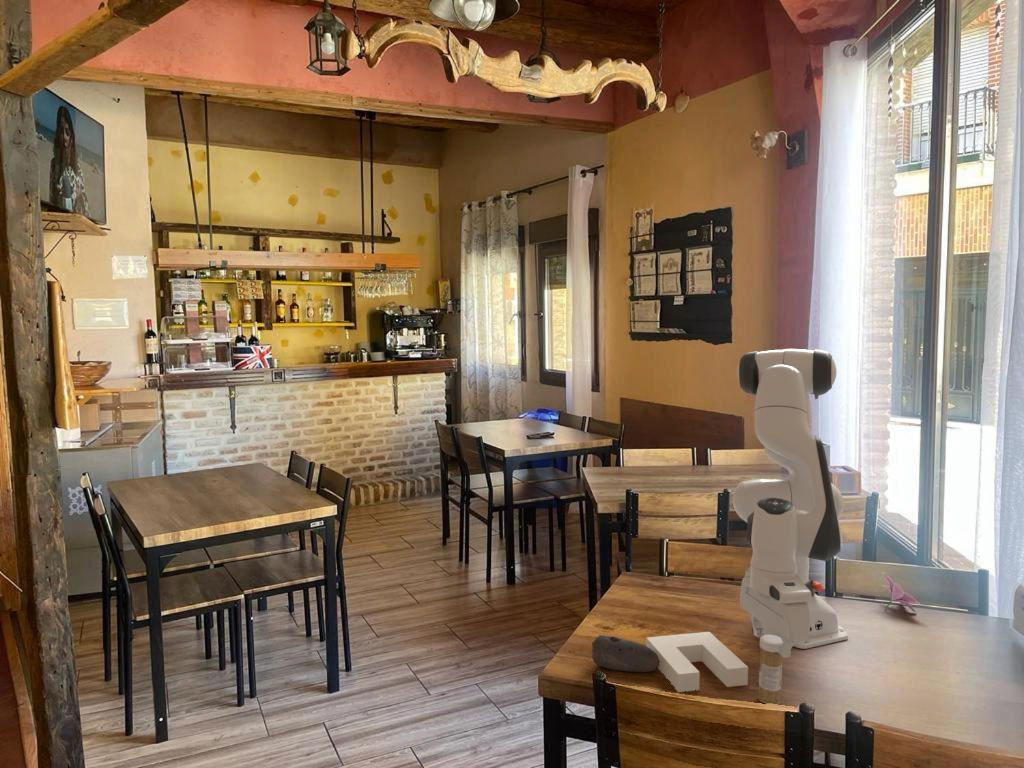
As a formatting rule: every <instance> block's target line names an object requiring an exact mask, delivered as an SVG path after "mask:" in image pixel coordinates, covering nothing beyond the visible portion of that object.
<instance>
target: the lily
mask: <svg viewBox="0 0 1024 768" xmlns="http://www.w3.org/2000/svg"><path fill="white" fill-rule="evenodd" d="M881 574H882V575H883V576H884V578H885V579H886V581H887V583H888V585H887V584H883V585H882V587H884V589H886V590H888V591H889V592H890V593H891V599H890V601H889V602H888V603H887V605H886V607H885V609H884V611H887V610H888V607H889V606H890V604H891V603H892V602H893V601H896V602H899V604H900V605H901V606H904V605H905V606H907V607H908V608H909V609H910V610H911V611H912V612H913V611H914V612H916V610H915V608H914V607H913V606H912V604H915V605H921V603H920V601H918V600H917V599H916V598H915V597H914V596H913V595H911V594H910V593H908V592H906V591H905V590H904V589H903V588H902V586H901V585H900V584H899V583H895V581H894V580H893V579H892V578H891V577H890V576H888V575H887V574H886V573H885V572H883V571H881ZM914 612H913V613H914Z"/></svg>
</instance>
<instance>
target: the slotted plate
mask: <svg viewBox="0 0 1024 768" xmlns="http://www.w3.org/2000/svg"><path fill="white" fill-rule="evenodd" d="M645 639H646V640H645V646H647V647H648V648H650V649H652V650H653V651H654V652H655V653H656V654H657V655H658V658H659V661H660V663H659V666H658V668H657V669H658V671H659V672H661V674H662V673H663V674H664V675H665V676H666V677H665V676H664V675H663V674H662V675H663V676H664V677H665V678H666V680H667V679H668V680H669V681H670V682H671V683H670V682H669V681H668V680H667V681H668V682H669V683H670V685H671V686H672V685H673V686H674V687H675V688H674V687H673V686H672V687H673V688H674V689H675V691H677V693H684V692H685V691H686V692H696V691H700V671H699V670H698V669H697V668H696V667H695V665H693V663H696V662H702V663H703V664H704V665H705V666H706V667H707V668H708V669H709V670H710V671H711V672H712V673H713V674H714V675H715V677H716V678H718V679H719V680H720V681H721V682H722V683H723V684H724V685H725V686H726V687H727V688H732V687H733V688H734V687H740V686H749V685H748V684H749V682H748V681H749V679H748V678H749V666H748V665H746V664H745V663H744V662H743V661H742V660H741V659H740V658H739V657H738V656H737V655H736V654H734V653H733V651H731V650H730V649H729V648H728V647H727V646H726V645H724V643H722V642H721V641H720V640H719V639H718V638H717V637H716V636H715V635H714V634H712V632H710V631H702V632H692V633H691V632H690V633H680V634H669V635H658V636H657V635H656V636H648V637H646V638H645ZM695 690H696V691H695Z"/></svg>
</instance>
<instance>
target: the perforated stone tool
mask: <svg viewBox="0 0 1024 768" xmlns="http://www.w3.org/2000/svg"><path fill="white" fill-rule="evenodd" d="M591 644H592V648H591V649H592V651H591V653H592V654H591V655H592V660H593V662H594V664H595V665H596V666H598V667H601V668H605V669H609V670H613V671H621V672H632V673H649V672H652V671H655V670H657V669H658V668H657V667H658V666H659V663H660V661H659V658H658V655H657V654H656V653H655V652H654V651H653V650H652V649H650V648H648V647H647V646H646V645H644V644H642V643H639V642H636V641H633V640H629V639H625V638H620V637H616V636H612V635H611V636H610V635H603V634H602V635H601V634H599V635H598V636H596V638H595V639H594V641H593V642H592V643H591Z"/></svg>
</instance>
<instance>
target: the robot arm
mask: <svg viewBox="0 0 1024 768" xmlns="http://www.w3.org/2000/svg"><path fill="white" fill-rule="evenodd" d="M736 377H737V381H738V384H739V387H740V389H742V390H743V391H744V392H745V393H747V394H751V395H755V400H754V401H755V402H754V412H753V413H754V414H753V417H754V418H753V422H754V432H755V436H756V437H757V439H758V442H760V443H761V445H763V447H764V448H763V449H764V453H765V455H766V457H767V458H768V459H769V460H770V461H772V462H774V463H775V464H777V465H778V466H781V467H782V468H785V469H787V471H788V474H789V478H786V479H775V478H756V479H749V480H743V481H741V482H739V484H738V485H737V486H736V487H735V489H734V492H733V494H732V506H733V509H734V511H735V512H736V515H738V517H739V518H740V519H741V520H742V521H744V522H745V523H746V525H747V526H746V527H747V528H746V529H747V530H746V535H747V536H746V543H747V544H748V545H749V546H750V547H751V549H752V557H751V560H750V566H749V567H748V568H747V569H746V570H745V573H744V574H745V575H744V577H743V578H742V580H741V586H740V594H739V595H740V596H739V602H740V607H741V608H742V609H743V610H744V611H746V612H747V613H748V614H750V621H751V625H752V630H753V636H754V637H756V638H757V639H760V637H761V636H763V635H775V636H778V637H780V638H781V640H782V641H783V643H782V646H779V647H778V650H779V652H778V654H779V655H780V656H782V659H789V658H790V657H791V654H792V653H791V652H792V651H791V650H792V648H793V647H795V648H797V649H804V650H807V649H810V648H814V647H819V646H823V645H824V646H825V645H828V644H832V643H836V642H841V641H845V640H848V639H849V636H848V632H847V631H846V629H845V628H843V626H841V625H840V624H839V622H838V616H837V613H836V611H835V609H834V608H833V607H832V606H831V605H829V604H828V603H827V602H826V601H825V600H823V599H822V598H821V597H820V596H818V595H817V594H816V593H815V591H817V592H819V593H821V592H822V591H823V590H824V585H823V584H822V583H819V581H813V579H811V578H809V575H810V573H809V572H810V571H809V570H810V559H813V560H818V561H823V562H826V561H829V560H830V559H832V558H834V557H835V556H836V555H838V554H839V553H840V552H841V549H842V546H843V541H844V540H843V539H844V538H843V530H842V527H841V524H840V521H839V519H840V518H841V517H842V514H843V512H844V507H845V506H844V505H845V503H844V497H843V494H842V493H841V491H840V490H839V488H838V487H837V486H836V485H834V484H833V483H832V481H831V476H830V475H831V474H830V470H829V469H830V468H829V465H828V464H829V463H828V459H827V455H826V451H825V447H824V445H823V442H822V440H821V438H820V437H818V436H816V435H814V434H813V413H812V403H811V398H810V395H813V396H814V400H817V399H819V397H820V396H822V395H825V394H827V392H829V391H830V390H832V388H833V385H834V383H835V381H836V378H837V366H836V363H835V360H834V358H833V355H831V353H830V352H829V351H826V350H823V349H815V348H814V350H811V349H801V348H799V349H798V348H785V349H774V350H773V349H771V350H763V351H758V350H755V351H750V352H746V353H744V354H743V355H742V356H741V357H740V359H739V362H738V365H737V368H736Z"/></svg>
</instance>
